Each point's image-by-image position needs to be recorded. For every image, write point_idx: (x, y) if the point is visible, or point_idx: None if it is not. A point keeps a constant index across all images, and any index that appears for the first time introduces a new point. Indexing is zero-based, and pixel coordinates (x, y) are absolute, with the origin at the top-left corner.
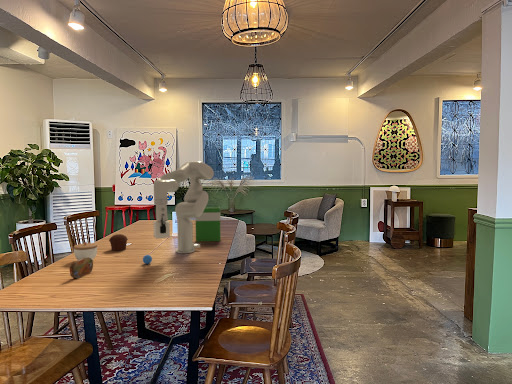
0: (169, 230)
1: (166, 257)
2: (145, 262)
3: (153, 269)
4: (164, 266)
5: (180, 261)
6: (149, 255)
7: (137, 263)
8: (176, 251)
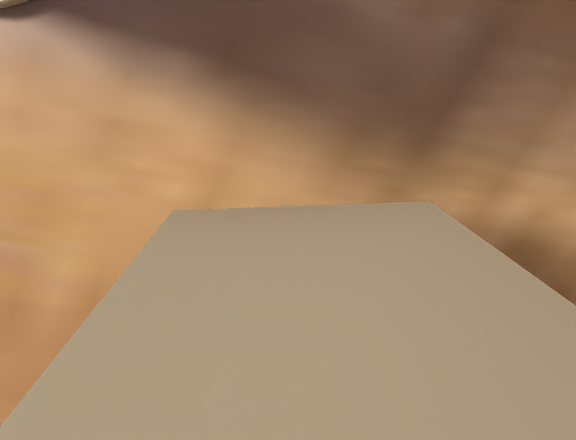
0: (511, 264)
1: (197, 148)
2: None
3: None
4: (485, 215)
5: (405, 56)
6: None
7: None
8: (10, 3)
